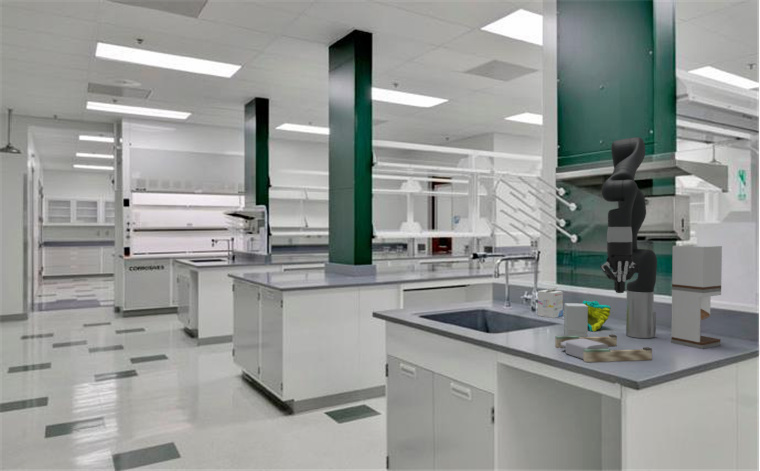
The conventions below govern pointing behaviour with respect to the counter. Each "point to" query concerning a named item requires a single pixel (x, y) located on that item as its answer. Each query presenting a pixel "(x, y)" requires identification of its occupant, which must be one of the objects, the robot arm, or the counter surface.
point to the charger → (581, 346)
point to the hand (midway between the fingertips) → (619, 292)
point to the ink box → (550, 303)
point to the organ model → (596, 314)
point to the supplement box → (575, 319)
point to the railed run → (607, 350)
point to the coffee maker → (694, 292)
